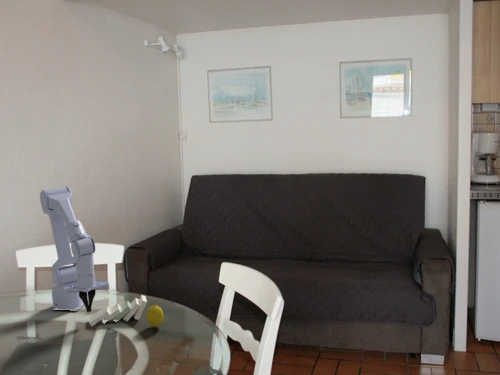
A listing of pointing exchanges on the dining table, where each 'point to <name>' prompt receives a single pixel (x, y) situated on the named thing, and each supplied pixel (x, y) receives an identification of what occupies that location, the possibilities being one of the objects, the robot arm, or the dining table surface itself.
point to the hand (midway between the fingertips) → (89, 310)
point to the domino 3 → (123, 310)
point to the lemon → (155, 316)
